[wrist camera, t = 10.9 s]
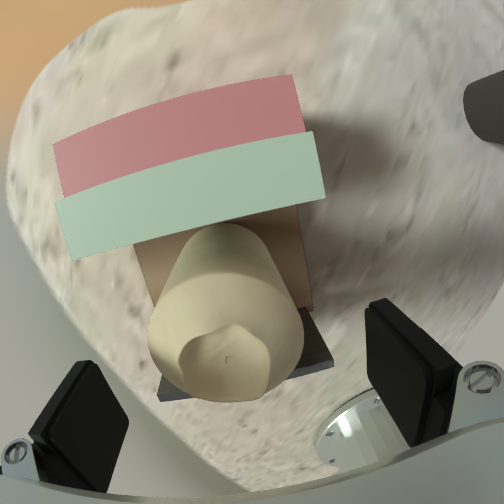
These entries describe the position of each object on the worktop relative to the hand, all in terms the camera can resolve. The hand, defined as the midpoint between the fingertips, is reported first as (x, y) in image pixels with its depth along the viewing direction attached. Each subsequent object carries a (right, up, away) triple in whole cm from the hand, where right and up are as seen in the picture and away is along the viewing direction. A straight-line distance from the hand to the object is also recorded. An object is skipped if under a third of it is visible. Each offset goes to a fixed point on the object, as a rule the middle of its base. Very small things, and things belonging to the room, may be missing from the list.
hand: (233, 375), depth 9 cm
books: (-2, +9, +7) cm, 12 cm away
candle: (-1, +3, +9) cm, 10 cm away
